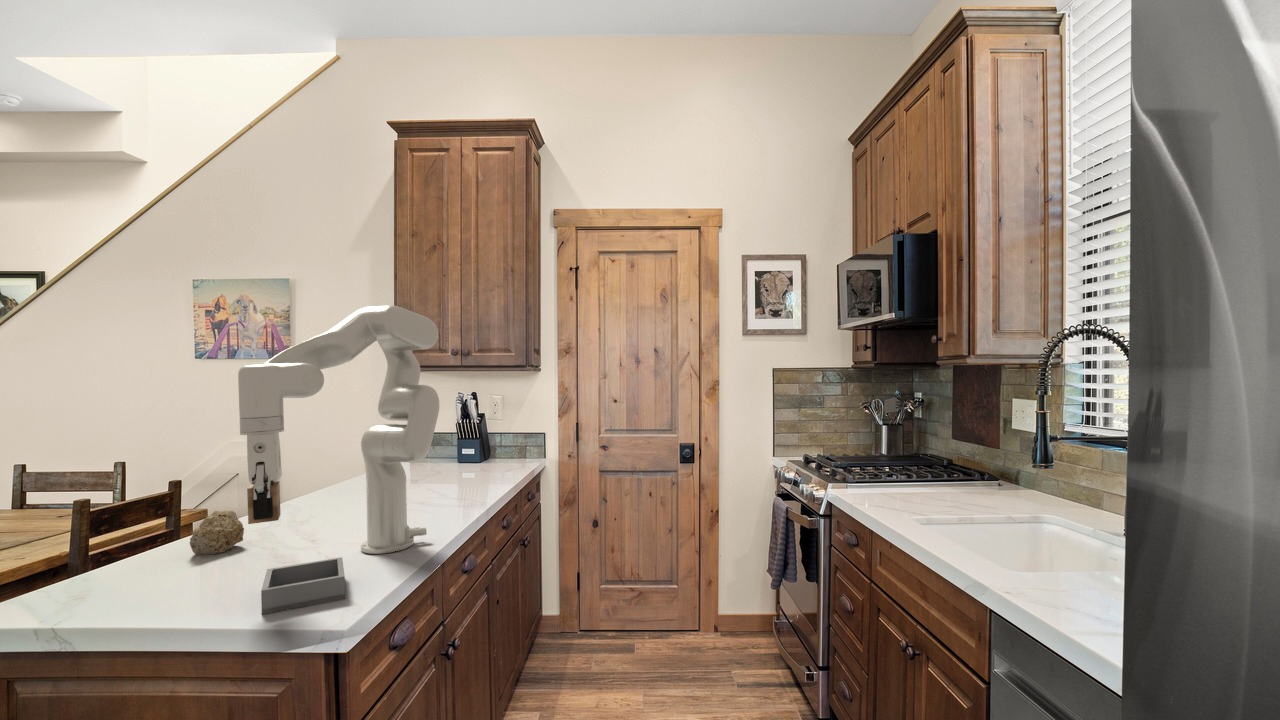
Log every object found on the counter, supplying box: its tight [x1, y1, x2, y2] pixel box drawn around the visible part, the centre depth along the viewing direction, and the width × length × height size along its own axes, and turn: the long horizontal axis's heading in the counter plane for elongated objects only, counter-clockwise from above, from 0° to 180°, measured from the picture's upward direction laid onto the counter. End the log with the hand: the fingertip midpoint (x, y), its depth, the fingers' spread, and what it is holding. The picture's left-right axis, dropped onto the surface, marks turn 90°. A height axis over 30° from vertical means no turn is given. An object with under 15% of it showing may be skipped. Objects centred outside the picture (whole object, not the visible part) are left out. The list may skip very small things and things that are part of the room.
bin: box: [260, 556, 346, 616], centre depth 119 cm, size 14×14×4 cm
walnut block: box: [246, 480, 281, 525], centre depth 117 cm, size 5×5×7 cm
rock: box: [189, 510, 245, 556], centre depth 150 cm, size 11×12×10 cm
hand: (265, 514), depth 117 cm, fingers closed on walnut block, 5 cm apart
